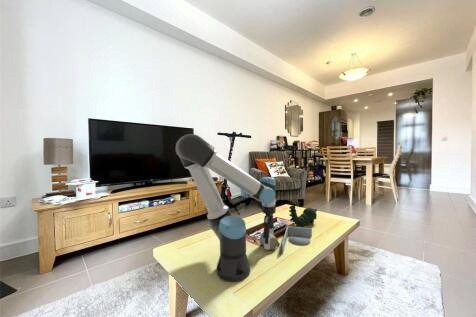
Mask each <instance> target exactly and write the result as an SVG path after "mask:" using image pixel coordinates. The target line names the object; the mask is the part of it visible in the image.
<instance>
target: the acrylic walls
mask: <svg viewBox="0 0 476 317" xmlns="http://www.w3.org/2000/svg"><path fill="white" fill-rule="evenodd" d="M285 229H286V230H285V233H284V236H283V238H282V243H281V254H283V255H284V253H285V248H286V244H287V240H288V236H289V235H291V236H293V235H300V236H305V237H307V238H309V237H310V238H312V237H313V228H312V227H311V228H309V227H302V226H301V227H300V226H291V225H290V226H289V225H287V226H286V228H285Z"/></svg>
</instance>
